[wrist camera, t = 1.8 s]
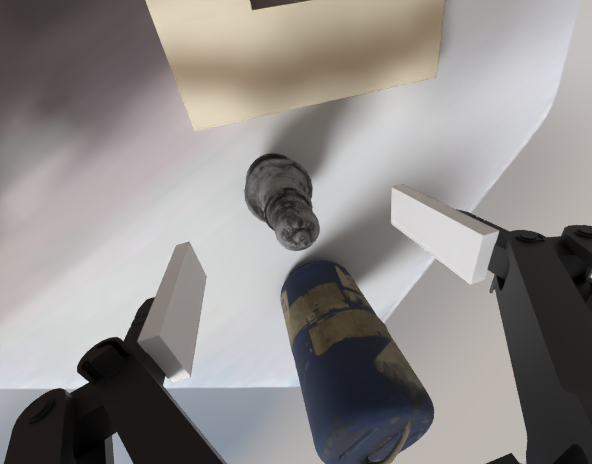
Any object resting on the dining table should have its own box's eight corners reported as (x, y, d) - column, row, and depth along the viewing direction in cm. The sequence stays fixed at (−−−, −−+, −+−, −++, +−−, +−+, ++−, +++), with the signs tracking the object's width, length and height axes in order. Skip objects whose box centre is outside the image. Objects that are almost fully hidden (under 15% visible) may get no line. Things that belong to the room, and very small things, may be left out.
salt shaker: (299, 145, 22) (356, 185, 12) (304, 203, 25) (353, 274, 15) (236, 155, 21) (240, 207, 11) (249, 214, 24) (262, 296, 14)
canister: (360, 278, 33) (473, 435, 17) (312, 320, 35) (375, 496, 19) (315, 242, 28) (416, 414, 13) (262, 293, 30) (294, 497, 15)
